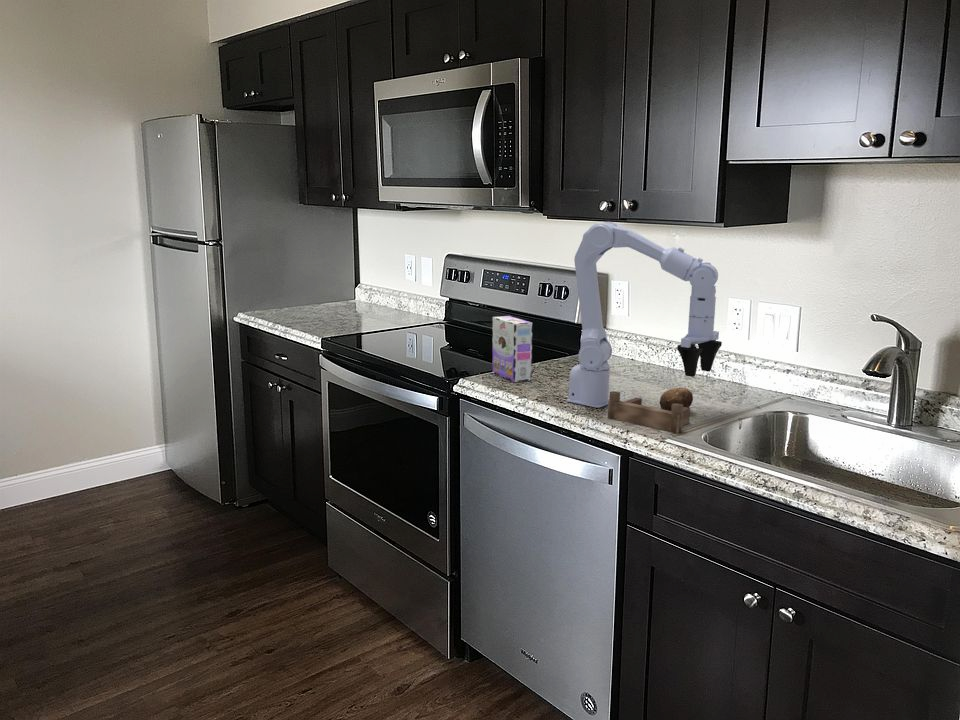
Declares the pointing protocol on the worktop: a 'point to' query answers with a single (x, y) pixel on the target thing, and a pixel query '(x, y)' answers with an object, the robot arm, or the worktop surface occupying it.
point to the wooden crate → (647, 414)
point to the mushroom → (676, 398)
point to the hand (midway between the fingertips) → (698, 373)
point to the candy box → (512, 348)
